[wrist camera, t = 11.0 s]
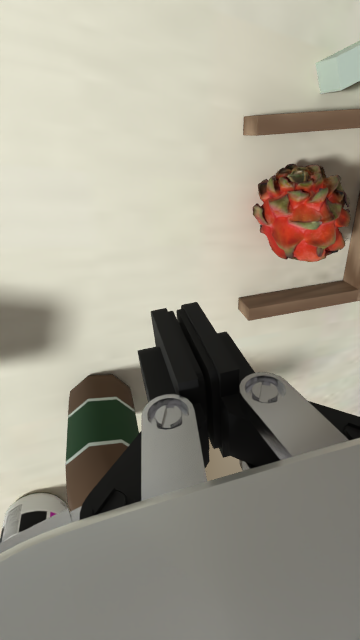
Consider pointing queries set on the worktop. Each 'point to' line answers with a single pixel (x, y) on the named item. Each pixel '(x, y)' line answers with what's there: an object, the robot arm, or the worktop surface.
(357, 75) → the t block
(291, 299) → the bay
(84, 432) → the beer bottle
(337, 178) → the dragon fruit
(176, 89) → the worktop surface
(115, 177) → the worktop surface
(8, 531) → the supplement can
